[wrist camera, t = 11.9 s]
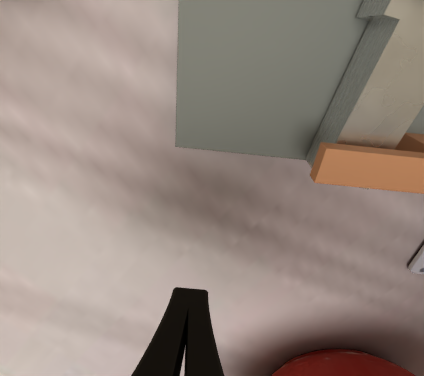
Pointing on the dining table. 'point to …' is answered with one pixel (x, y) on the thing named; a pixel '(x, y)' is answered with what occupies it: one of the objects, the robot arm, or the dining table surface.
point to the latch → (379, 80)
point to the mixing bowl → (340, 365)
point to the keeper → (373, 165)
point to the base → (262, 72)
